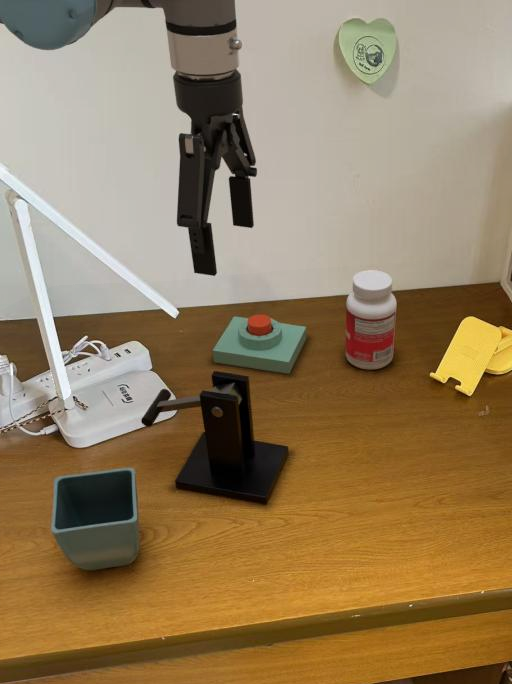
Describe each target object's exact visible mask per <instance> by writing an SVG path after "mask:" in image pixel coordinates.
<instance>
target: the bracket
mask: <svg viewBox="0 0 512 684" xmlns="http://www.w3.org/2000/svg"><path fill="white" fill-rule="evenodd" d="M210 377H211V383H212V384H211V385H212V389H213V388H214V386H216V385H222V384H229V383H235V384H236V386H237V388H238V390H239V392H240V394H241V396H242V400H241V402H240V404H238V396H235V395H229V394H223V393H217V392H211V391H209V390H201V391H200V393H199V396H200V402H201V407H200V408H201V409H200V410H201V416H202V422H203V429H204V431H203V432H202V433H201V435H200V437H199V438H198V440H197V442H196V444H195V445H194V447H193V448H192V451H191V453H190V454H189V456H188V457H187V459H186V461H185V463H184V465H183V467H182V468H181V470H180V472H179V474H178V475H177V476H176V478H175V480H174V483H175V488H176V489H178V490H184V491H190V492H194V493H201V494H206V495H211V496H216V497H223V498H228V499H234V500H239V501H244V502H245V501H246V502H250V503H251V502H252V503H255V504H256V503H257V504H262V505H267V504H268V502H269V500H270V498H271V495H272V492H273V490H274V488H275V486H276V484H277V482H278V479H279V476H280V475H281V472H282V469H283V467H284V465H285V462H286V460H287V458H288V456H289V453H290V452H289V446H288V445H283V444H277V443H271V442H265V441H259V440H255V435H254V423H253V411H252V401H251V390H250V389H251V387H250V376H249V375H244V374H238V373H232V372H226V371H225V372H224V371H218V370H213V372H212V374H211V375H210Z"/></svg>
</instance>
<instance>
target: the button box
mask: <svg viewBox="0 0 512 684" xmlns="http://www.w3.org/2000/svg"><path fill="white" fill-rule="evenodd" d="M249 318H250V317H242V316H233V317H232V319H231V321H230V322H229V324H228V325H227V327H226V328H225V329H224V332H223V333H222V335H221V336H220V338H219V340H218V341H217V343H216V344H215V346H214V347H213V349H212V356H213V363H216V364H223V365H229V366H235V367H241V368H242V367H243V368H248V369H255V370H262V371H268V372H274V373H280V374H281V373H282V374H288V375H290V373H291V371H292V369H293V367H294V365H295V363H296V360H297V359H298V357H299V355H300V353H301V351H302V349H303V346H304V345H305V343H306V340H307V326H304V325H295V324H289V323H283V322H279V321H277V320H275V319H274V318H271V317H269V318H270V319H271V327H272V331H271V333H269V334H267V335H263V336H255V335H251V334H249V332H248V323H247V321H248V319H249Z"/></svg>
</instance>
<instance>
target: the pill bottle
mask: <svg viewBox="0 0 512 684" xmlns="http://www.w3.org/2000/svg"><path fill="white" fill-rule="evenodd" d="M392 291H393V279H392V277H391V275H389V274H388V273H387V272H384V271H381V270H376V269H367V270H362V271H359V272H357V273H356V274H355V275H353V278H352V291H351V292H350V294H348V296H347V298H346V301H345V302H346V303H345V305H346V306H345V312H346V313H345V345H344V346H345V348H344V349H345V358H346V360H347V362H348V363H350V364H351V365H352V366H354V367H356V368H358V369H361V370H368V371H371V370H372V371H373V370H379V369H382V368H385V367H386V366H388V365H389V364H390V363H391V362H392V361H393V358H394V352H395V339H396V338H395V335H396V323H397V322H396V321H397V307H398V306H397V305H398V301H397V299H396V297H395V295H394V294H393V292H392Z"/></svg>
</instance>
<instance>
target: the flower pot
mask: <svg viewBox="0 0 512 684" xmlns="http://www.w3.org/2000/svg"><path fill="white" fill-rule="evenodd" d="M136 475H137V474H136V469H135V468H134V467H122V468H114V469H109V470H100V471H92V472H84V473H76V474H68V475H61V476H57V477H56V478H54V480H53V495H52V497H53V499H52V512H51V513H52V514H51V525H50V531H51V534H52V535H53V537H54V539H55V541H56V543H57V545H58V547H59V548H60V550H61V552H62V553H63V555H64V557H65V558H66V559H67V561H69V562H70V563H71V564H72V565H74V566H76V567H77V568H80V569H82V570H85V571H96V570H102V569H108V568H115V567H122V566H124V567H125V566H129V565H131V564H132V563H133V562H134V561H135V560H136V559H137V557H138V555H139V551H140V546H141V544H140V543H141V542H140V523H139V501H138V488H137V487H138V486H137V476H136Z"/></svg>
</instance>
